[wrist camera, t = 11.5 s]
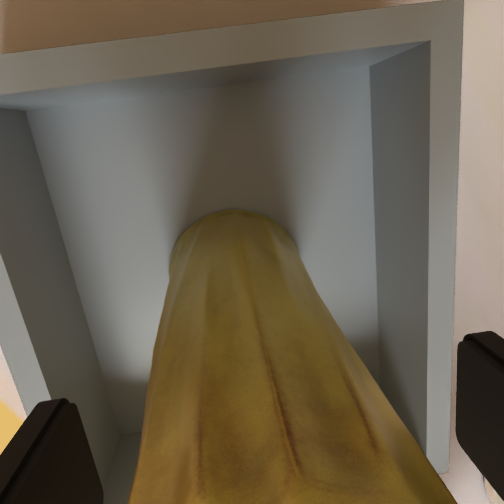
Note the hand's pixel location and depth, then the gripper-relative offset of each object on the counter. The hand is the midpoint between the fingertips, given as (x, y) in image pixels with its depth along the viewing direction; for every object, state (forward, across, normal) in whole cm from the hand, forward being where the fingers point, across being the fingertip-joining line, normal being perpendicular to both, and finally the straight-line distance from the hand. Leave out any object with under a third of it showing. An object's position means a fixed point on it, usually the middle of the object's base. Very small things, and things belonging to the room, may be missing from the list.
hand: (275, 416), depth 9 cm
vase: (+10, +1, -1) cm, 10 cm away
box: (+10, +1, -1) cm, 10 cm away
